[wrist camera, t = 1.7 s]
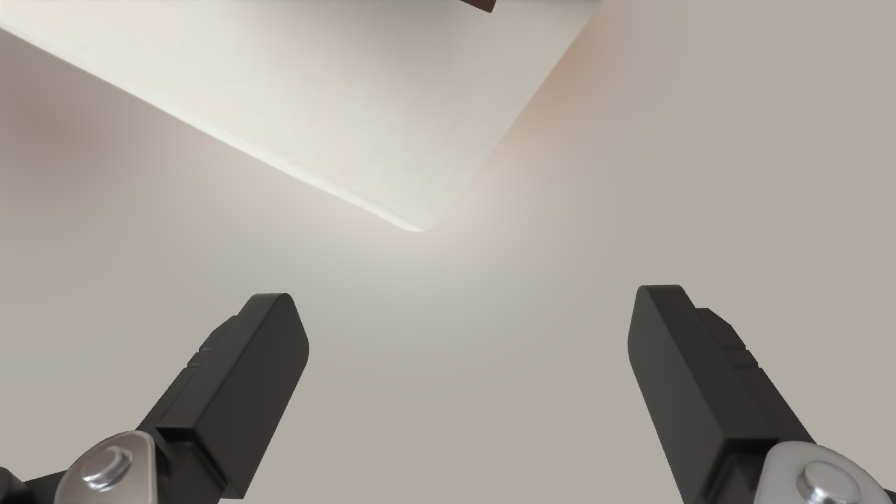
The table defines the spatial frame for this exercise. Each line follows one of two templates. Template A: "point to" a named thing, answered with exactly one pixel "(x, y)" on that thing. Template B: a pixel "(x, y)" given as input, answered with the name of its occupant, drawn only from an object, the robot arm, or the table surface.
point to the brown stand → (482, 4)
